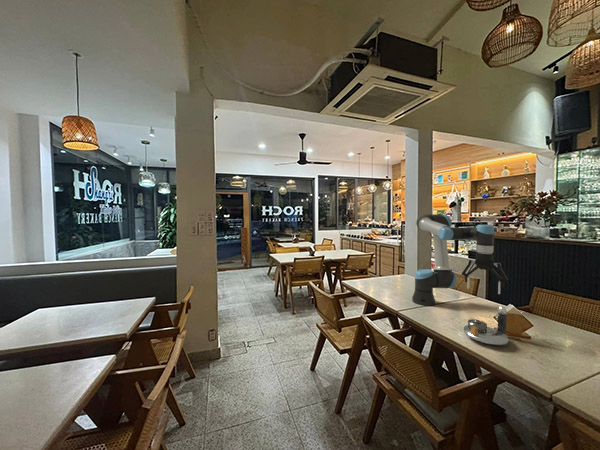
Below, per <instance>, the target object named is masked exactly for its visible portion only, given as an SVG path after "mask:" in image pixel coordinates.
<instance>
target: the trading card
mask: <svg viewBox="0 0 600 450" xmlns="http://www.w3.org/2000/svg"><path fill="white" fill-rule="evenodd" d="M447 320H448V321H450V320H452V318H450V319H449V318H448V319H446V321H447ZM455 320H457V321H458V322H461V323H462V324H464V325H465V326H466V325H468V323H467V324H466V323H464V322H463V321H461V320H459V319H457V318H455ZM441 322H442V323H444V324H445V325H448V326H450V327H451V328H453V329H455V330H456V331H458V332H460V333H462V334H463V335H465V336H467V335H466V334H465V333H464V332H462V331H461V330H460V329H457V328H455V327H453V326H452V325H450V324H448V323H447V322H445V321H444V320H441Z"/></svg>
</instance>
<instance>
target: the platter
mask: <svg viewBox="0 0 600 450" xmlns="http://www.w3.org/2000/svg"><path fill="white" fill-rule="evenodd" d="M463 333H464V335H465V334H466V335H465V336H468V337H469V338H470V339H472V340H475V341H476V340H477V341H476V342H478V341H480V342H483V343H487V344H491V345H490V346H504V345H508V344H509V336H507V334H506V335H505V334H504V333H502V332H500V331H498V329H496V328H492V327H489V326H487V332H486V333H479V332H478V328H477V327H475V326H472V327H471V330H470V329H469V328H468V324H467V325H466V324H465V325H464V326H463ZM480 342H479V343H480ZM483 343H482V344H483ZM487 344H486V345H487Z"/></svg>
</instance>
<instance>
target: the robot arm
mask: <svg viewBox="0 0 600 450" xmlns="http://www.w3.org/2000/svg"><path fill="white" fill-rule="evenodd" d="M415 223H416V226H417V228H418V229H419V230H422V231H425V232H426V231H427V232H430V234H431V235H432V238H433V251H434V252H433V253H434V264H435V267H434V268H433V269H428V268H427V269H426V268H422V269H418V270H416V271H415V273H414V274H415V275H414V292H413V295H412V296H411V301H412V302H413V303H415V304H417V305H421V306H429V307H430V306H435V305H436V299H435V296H434V289H452V288H454V287H455V286H456V284H457V279H458V278H457V274H456V273H455V272H454V271H453V269H452V268H451V267H450V261H449V253H448V252H449V249H448V241H475V242H476V246H475V247H476V248H475V252H476V253H475V260H472V259H469V260H468V264H467V265H466V266H465V268H464V269H463V271H462V272H461V276H464V281H465V283H467V284H466V288H467V289H470V285H471V284H470V283H471V281H470V280H471V276H470V275H471V274H472V273H473V272H475V271H476V270H478V269H479V270H485V271H490V272H491V273H492V274H493V275H494V276H495V277H496V278H497V280H498V288H497V289H498V290H497V294H498V295H501V289H503V288H504V283H506V282H508V281H509V279H508V276H507V275H506V274H505V272H504V270H503V268H502V264H501V263H500V262H494V254H493V253H494V243H495V233H496V232H495V226H494V225H492V224H477V225H476V226H475V227H474V226H462V227H461V226H458V227H455V226H452V225H453V224H452V220H451V218H450V217H449V215H447V214H443V213H442V214H441V213H440V214H438V213H437V214H423V215H420V216H419V217H418V218H416V221H415ZM473 264H475V267H474V268H472V269H471V270H470V271H468V270H469V269H470V267H471V265H473ZM494 266H495V267H496V268H497V269H498V271H499V273H500V274H501V275H500V274H499V273H498V272H497V270H495V269H494V268H493V267H494ZM467 271H468V272H467Z"/></svg>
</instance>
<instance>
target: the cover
mask: <svg viewBox="0 0 600 450" xmlns="http://www.w3.org/2000/svg"><path fill="white" fill-rule="evenodd" d="M467 325H468V328H469V329H470V330H471V327H472V326H475V327H477V328H478V332H479V333H486V332H487V327H488V326H487V325H488V324H487V323H486V322H485V321H483V320H479V319H473V318H470V319H468V320H467Z"/></svg>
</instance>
